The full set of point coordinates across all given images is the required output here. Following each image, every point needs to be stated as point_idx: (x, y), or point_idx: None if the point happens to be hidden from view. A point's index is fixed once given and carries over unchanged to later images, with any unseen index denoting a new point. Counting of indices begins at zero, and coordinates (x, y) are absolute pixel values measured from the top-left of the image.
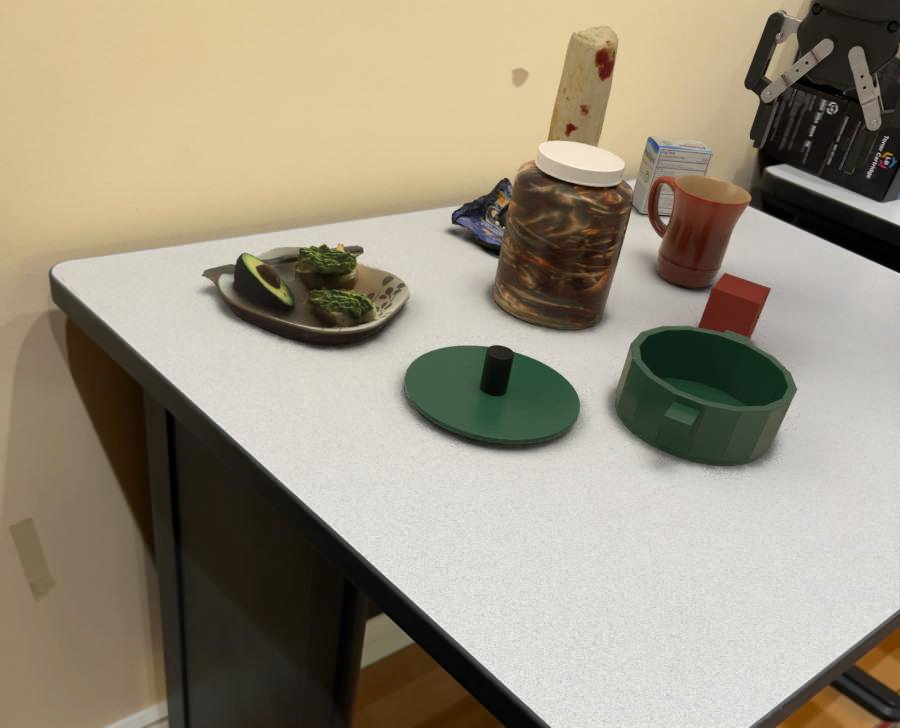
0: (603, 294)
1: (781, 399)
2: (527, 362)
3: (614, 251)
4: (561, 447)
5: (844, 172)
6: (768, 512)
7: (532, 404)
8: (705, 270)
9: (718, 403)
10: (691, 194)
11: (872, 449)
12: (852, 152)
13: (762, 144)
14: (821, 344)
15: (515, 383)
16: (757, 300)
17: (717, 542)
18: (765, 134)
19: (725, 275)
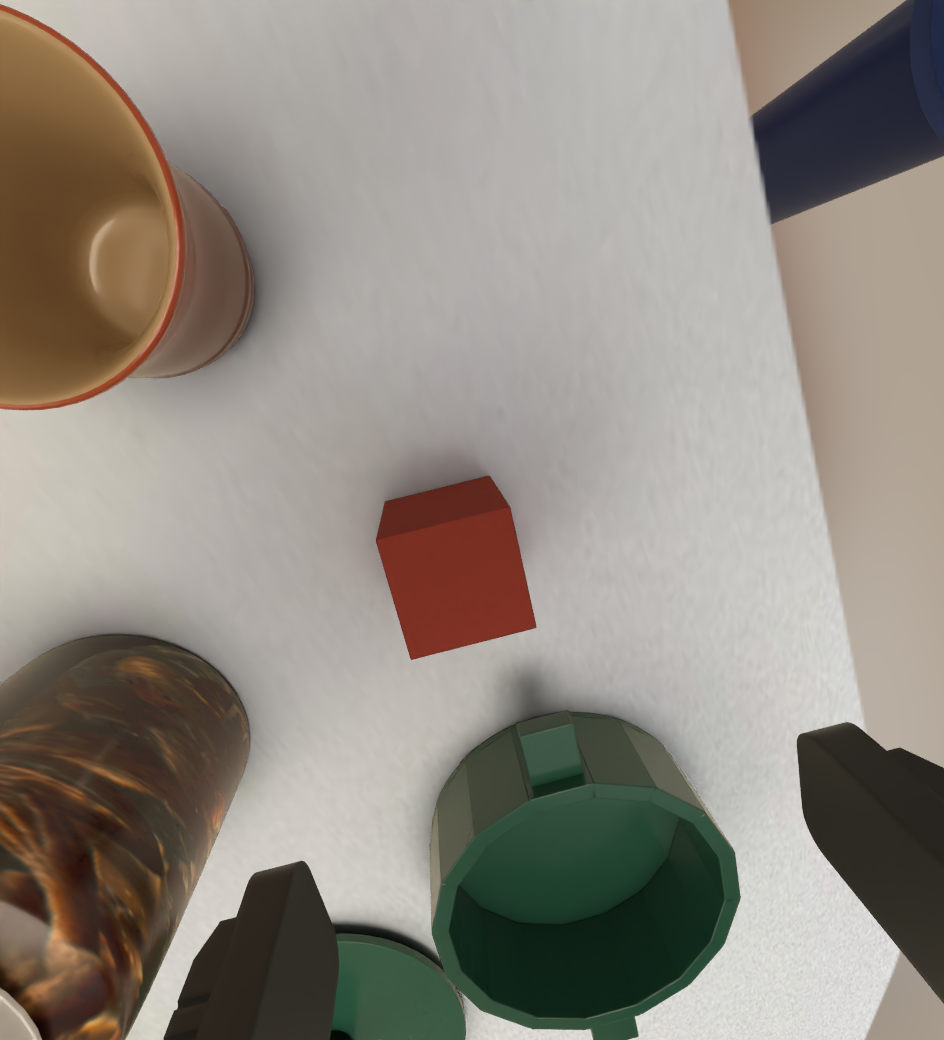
0: (229, 774)
1: (725, 904)
2: None
3: (190, 861)
4: (474, 1018)
5: (807, 816)
6: (739, 911)
7: (396, 1027)
8: (236, 329)
9: (652, 997)
10: (10, 409)
11: (818, 646)
12: (893, 934)
13: (319, 920)
14: (612, 308)
15: (340, 1011)
16: (522, 615)
17: (711, 999)
18: (313, 995)
19: (387, 556)
